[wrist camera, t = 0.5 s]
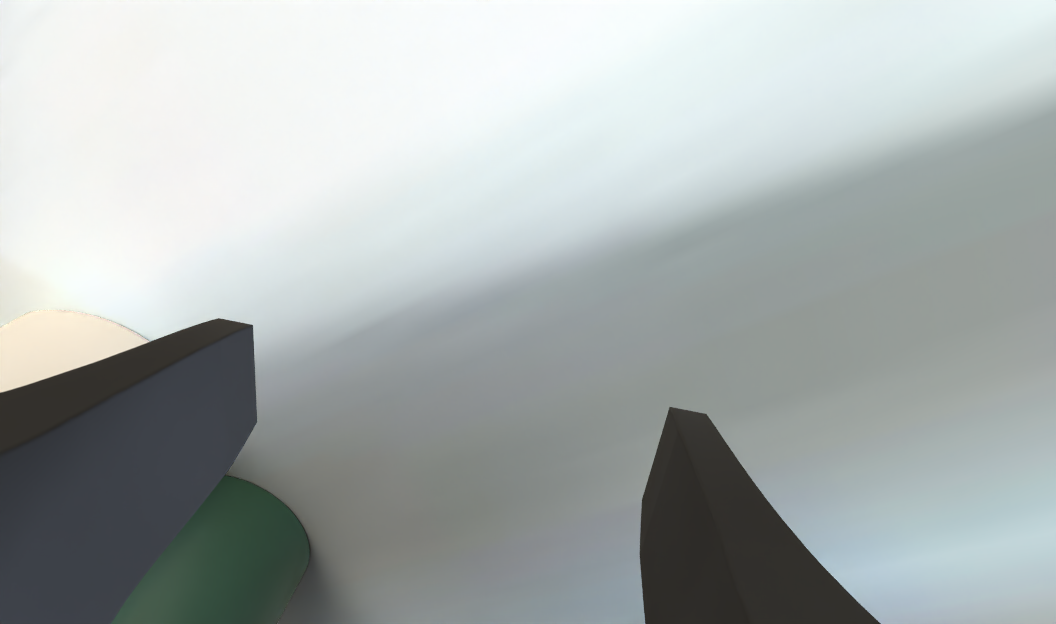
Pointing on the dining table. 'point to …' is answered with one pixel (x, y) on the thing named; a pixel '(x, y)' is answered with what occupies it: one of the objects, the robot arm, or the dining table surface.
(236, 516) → the green tin can
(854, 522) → the dining table surface
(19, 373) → the eye dropper bottle
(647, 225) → the dining table surface
